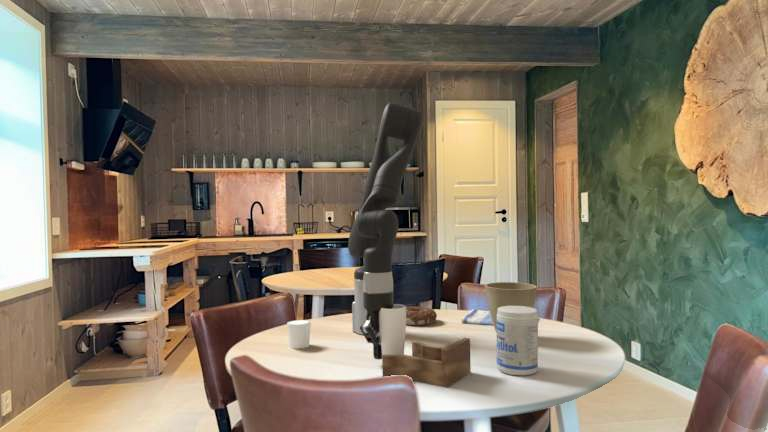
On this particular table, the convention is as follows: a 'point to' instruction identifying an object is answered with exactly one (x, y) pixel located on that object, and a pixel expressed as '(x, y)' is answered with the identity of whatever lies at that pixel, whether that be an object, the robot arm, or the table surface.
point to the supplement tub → (517, 340)
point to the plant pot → (509, 296)
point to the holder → (432, 363)
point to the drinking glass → (392, 329)
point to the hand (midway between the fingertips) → (378, 358)
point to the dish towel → (478, 318)
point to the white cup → (299, 333)
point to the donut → (420, 315)
